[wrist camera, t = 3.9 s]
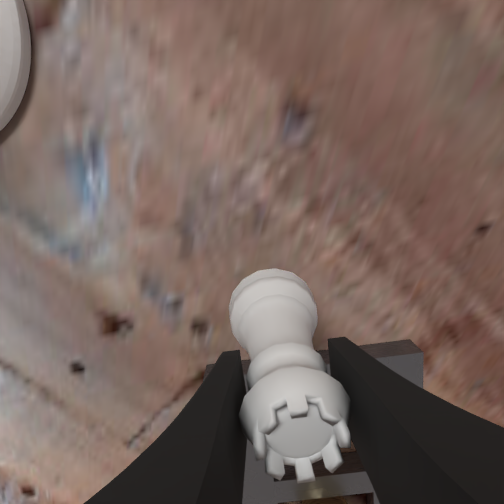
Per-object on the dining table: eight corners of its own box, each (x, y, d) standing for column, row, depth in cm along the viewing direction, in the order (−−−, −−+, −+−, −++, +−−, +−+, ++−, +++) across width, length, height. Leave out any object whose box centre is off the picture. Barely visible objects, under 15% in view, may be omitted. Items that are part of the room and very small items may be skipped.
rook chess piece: (307, 342, 15) (372, 509, 8) (227, 340, 15) (212, 509, 8) (317, 267, 14) (405, 375, 7) (230, 263, 14) (217, 371, 6)
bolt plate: (409, 339, 19) (465, 393, 14) (410, 549, 23) (452, 644, 19) (206, 364, 19) (192, 426, 14) (247, 566, 24) (246, 665, 19)
